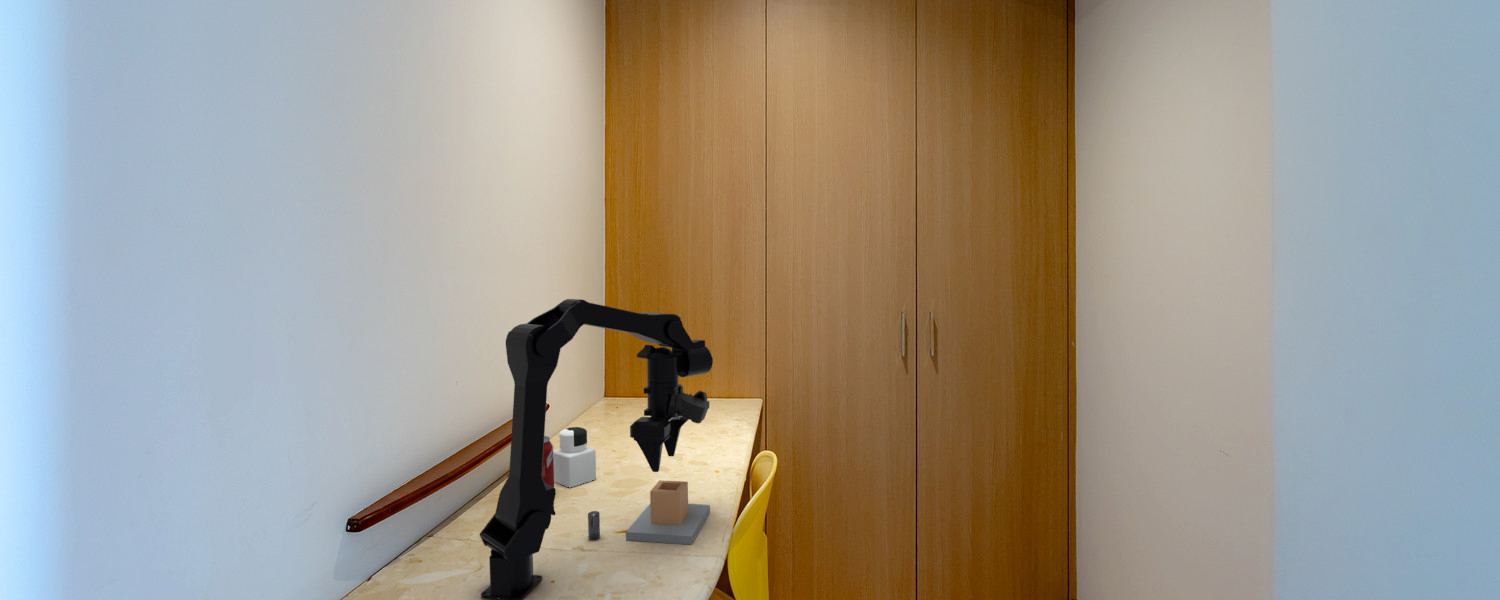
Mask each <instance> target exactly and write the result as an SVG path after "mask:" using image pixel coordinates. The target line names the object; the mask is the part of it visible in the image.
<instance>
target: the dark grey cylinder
mask: <svg viewBox="0 0 1500 600" xmlns="http://www.w3.org/2000/svg"><path fill="white" fill-rule="evenodd" d="M600 514H601V513H600V512H599V511H597V510H595V511H594V510H593V511H589V512H588V513H587V527H588V530H587V531H588V533H587V534H588V536H587V537H588V540H589V541H597V540H600V539H601V526H600V525H601V524H600V523H601V521H600V518H601V517H600Z"/></svg>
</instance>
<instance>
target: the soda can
mask: <svg viewBox="0 0 1500 600" xmlns="http://www.w3.org/2000/svg"><path fill="white" fill-rule="evenodd" d="M550 440H551V438H550V437H549V436H546V435H544V451H543V468H542V477H543V481H544V483H545V484H547V485H549V486H551V487H554V488H555V482H554V460H553V451H554V445H553V443H552V442H551V441H550Z"/></svg>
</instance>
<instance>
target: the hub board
mask: <svg viewBox="0 0 1500 600" xmlns="http://www.w3.org/2000/svg"><path fill="white" fill-rule="evenodd" d="M710 514H711V504H699V503H697V504H696V503H688V514H687V515H686V517H685V518H684V520H683V522H682V523H681V525H673V524H656V523H651V508H650V503H649V504H648V505H647V507H646V508H645V509H644V510H643V511H642V513H640V514H639V516H638V517H637V518H636V520H635V521H634V522H633V523H632V524H631V525H630V527H629V528H628V529H627V530H626V531H625V541H632V542H645V543H646V542H649V543H663V544H675V545H676V544H677V545H690V546H691V545H692V544H694V541H695V539H696V537H698V534H699V533H700V531H701V530H702V528H703V526H704V523H706V520H707V519H708V517H709V515H710Z"/></svg>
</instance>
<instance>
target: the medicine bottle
mask: <svg viewBox="0 0 1500 600" xmlns="http://www.w3.org/2000/svg"><path fill="white" fill-rule="evenodd" d="M558 438H559V449H555V450H554V449H553V460H554V483H556V484H558V485H561V486H563V485H564V486H563V487H566V488H568V487H569V489H572V488H575V487H577V485H578V486H580V484H581V485H583V483H584V484H586V482H587V483H590V482H593V481H595V480H597V463H596V460H597V458H596V457H597V456H596V454H597V452H596V449H595V448H592V447H588V430H587V429H586V428H584V427H579V426H572V427H566V428H564V429H562V430H560V432H559V437H558ZM592 480H593V481H592ZM574 486H575V487H574ZM571 487H572V488H571Z"/></svg>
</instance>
